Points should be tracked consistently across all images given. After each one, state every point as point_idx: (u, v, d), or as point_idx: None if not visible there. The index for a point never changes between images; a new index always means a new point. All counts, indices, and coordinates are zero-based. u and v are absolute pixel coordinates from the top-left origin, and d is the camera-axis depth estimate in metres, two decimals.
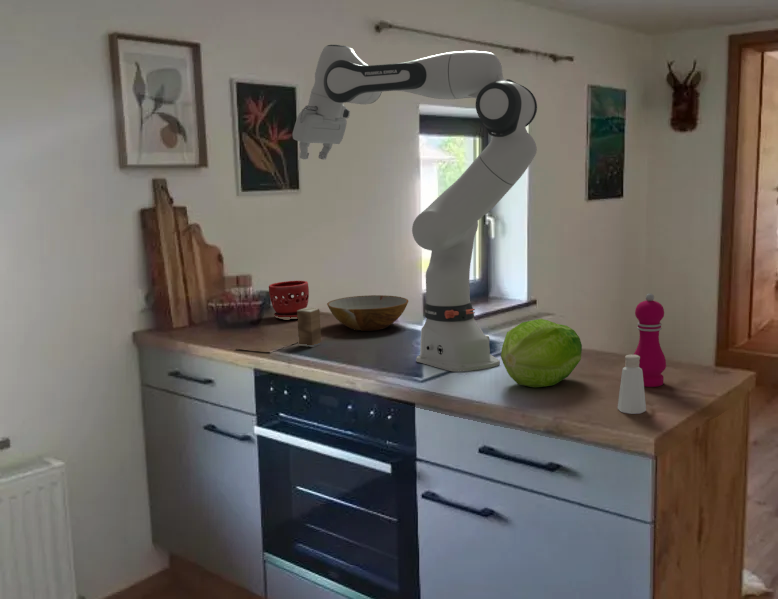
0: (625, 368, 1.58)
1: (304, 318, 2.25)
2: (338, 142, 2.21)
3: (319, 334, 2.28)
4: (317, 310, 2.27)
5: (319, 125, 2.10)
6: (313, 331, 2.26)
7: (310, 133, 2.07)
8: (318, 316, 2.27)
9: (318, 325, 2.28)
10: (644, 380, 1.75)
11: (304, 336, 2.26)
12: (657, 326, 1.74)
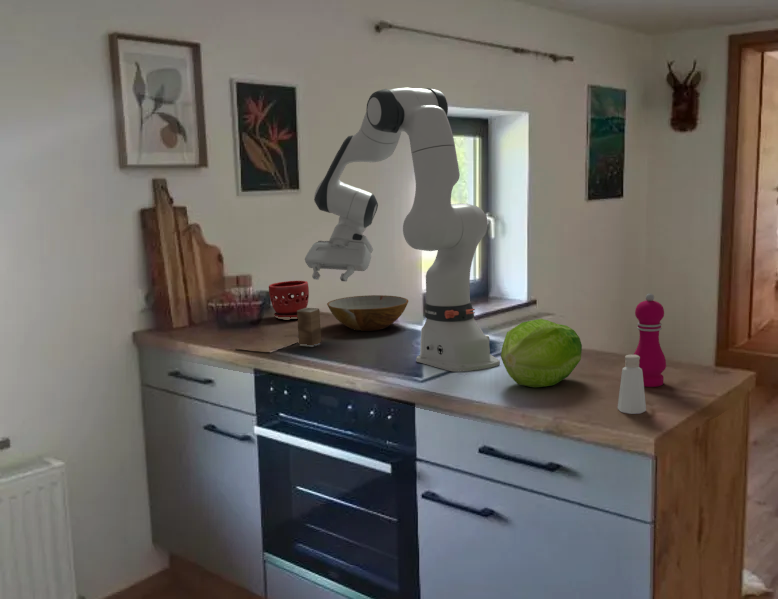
0: (625, 368, 1.58)
1: (304, 318, 2.25)
2: (357, 262, 2.34)
3: (319, 334, 2.28)
4: (317, 310, 2.27)
5: (328, 250, 2.41)
6: (313, 331, 2.26)
7: (314, 254, 2.41)
8: (318, 316, 2.27)
9: (318, 325, 2.28)
10: (644, 380, 1.75)
11: (304, 336, 2.26)
12: (657, 326, 1.74)
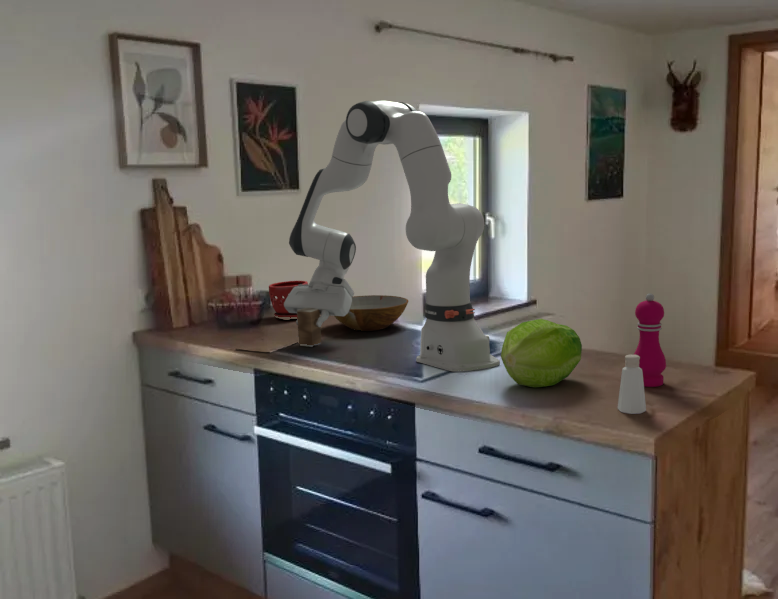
0: (625, 368, 1.58)
1: (304, 318, 2.25)
2: (336, 308, 2.24)
3: (319, 334, 2.28)
4: (317, 310, 2.27)
5: (307, 294, 2.32)
6: (313, 331, 2.26)
7: (293, 299, 2.33)
8: (318, 316, 2.27)
9: None
10: (644, 380, 1.75)
11: (304, 336, 2.26)
12: (657, 326, 1.74)
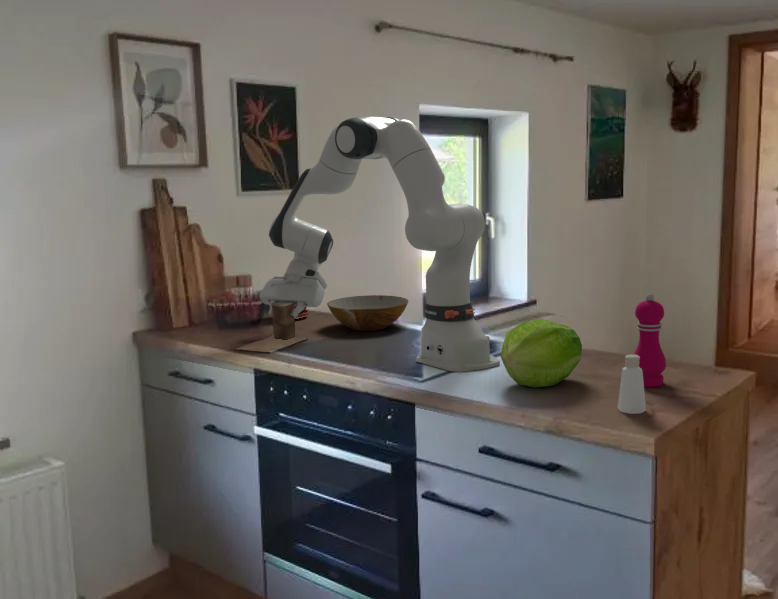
0: (625, 368, 1.58)
1: (278, 311, 2.33)
2: (309, 299, 2.32)
3: (293, 327, 2.36)
4: (291, 304, 2.35)
5: (282, 286, 2.40)
6: (288, 324, 2.33)
7: (268, 291, 2.40)
8: None
9: (292, 318, 2.35)
10: (644, 380, 1.75)
11: (279, 330, 2.34)
12: (657, 326, 1.74)
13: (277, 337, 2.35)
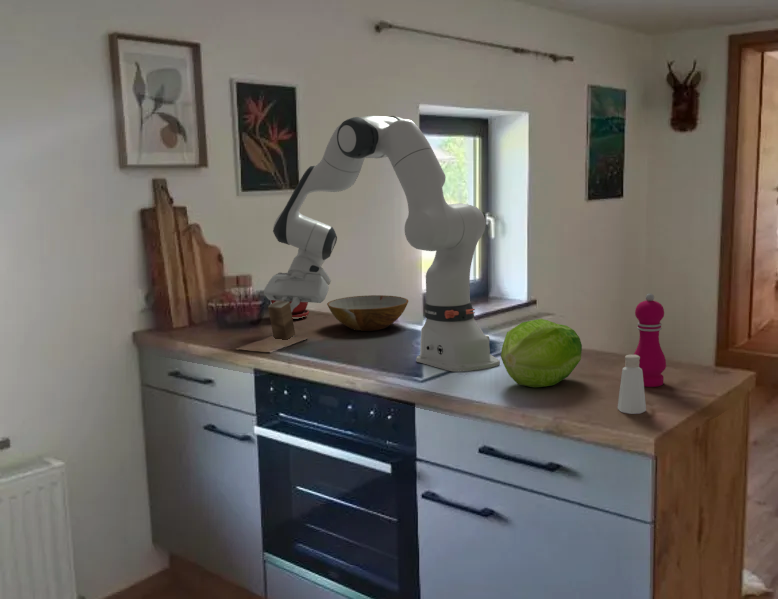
0: (625, 368, 1.58)
1: (275, 313, 2.32)
2: (313, 294, 2.34)
3: (292, 325, 2.35)
4: (287, 303, 2.33)
5: (286, 282, 2.41)
6: (286, 324, 2.33)
7: (272, 287, 2.42)
8: (289, 309, 2.34)
9: (290, 317, 2.34)
10: (644, 380, 1.75)
11: (278, 330, 2.33)
12: (657, 326, 1.74)
13: (277, 337, 2.35)
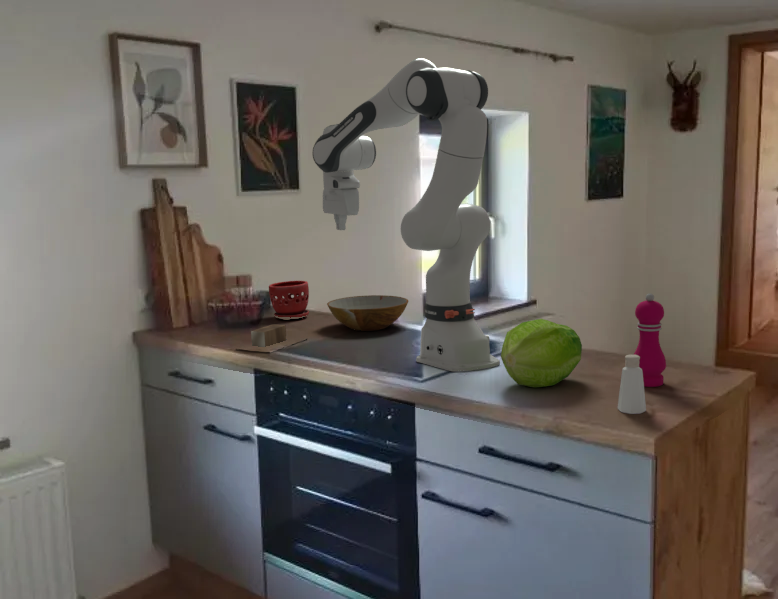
0: (625, 368, 1.58)
1: None
2: (344, 213, 2.27)
3: (279, 329, 2.30)
4: (264, 335, 2.24)
5: (330, 197, 2.37)
6: (277, 339, 2.29)
7: (325, 204, 2.41)
8: (268, 333, 2.25)
9: (274, 331, 2.28)
10: (644, 380, 1.75)
11: None
12: (657, 326, 1.74)
13: None
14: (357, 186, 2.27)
